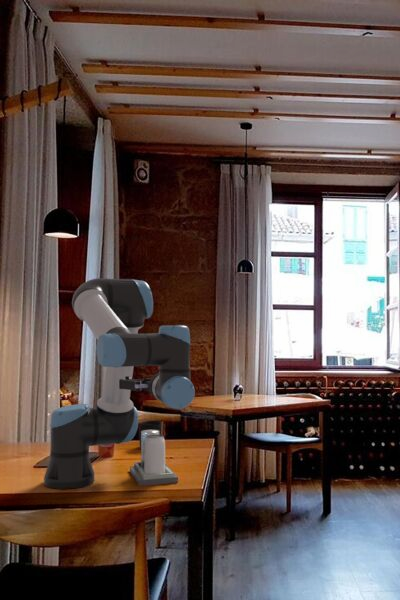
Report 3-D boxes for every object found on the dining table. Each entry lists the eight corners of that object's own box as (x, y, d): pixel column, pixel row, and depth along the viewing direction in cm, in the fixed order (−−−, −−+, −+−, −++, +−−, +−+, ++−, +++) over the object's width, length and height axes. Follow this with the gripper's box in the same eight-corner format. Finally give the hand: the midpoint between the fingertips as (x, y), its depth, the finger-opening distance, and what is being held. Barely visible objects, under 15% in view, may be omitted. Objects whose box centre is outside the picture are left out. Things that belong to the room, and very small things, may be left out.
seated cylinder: (142, 471, 171) (142, 433, 172) (139, 466, 177) (139, 430, 177) (161, 469, 173) (161, 432, 173) (157, 465, 178) (157, 429, 179)
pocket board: (139, 485, 160) (139, 476, 160) (129, 471, 177) (129, 462, 177) (178, 482, 163) (177, 473, 163) (165, 468, 181) (165, 460, 181)
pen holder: (139, 445, 221) (139, 421, 221) (161, 444, 222) (161, 420, 222) (138, 450, 211) (138, 424, 212) (162, 449, 212) (162, 424, 213)
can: (162, 478, 162) (161, 438, 163) (141, 477, 163) (141, 437, 164) (167, 473, 168) (167, 434, 169) (147, 472, 169) (147, 434, 170)
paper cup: (92, 457, 198) (92, 419, 199) (102, 453, 205) (102, 416, 206) (110, 459, 196) (110, 420, 197) (120, 454, 203) (120, 417, 204)
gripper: (116, 404, 132) (107, 395, 152) (212, 400, 139) (190, 392, 159) (117, 373, 133) (107, 368, 153) (212, 371, 140) (190, 366, 160)
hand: (150, 380), depth 156 cm, fingers open, 13 cm apart
